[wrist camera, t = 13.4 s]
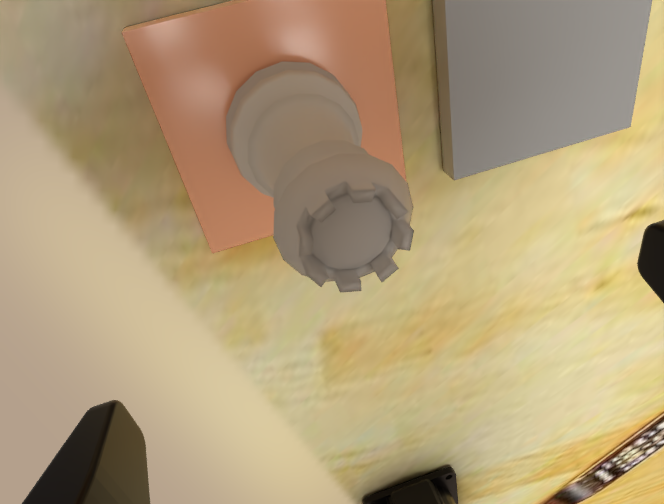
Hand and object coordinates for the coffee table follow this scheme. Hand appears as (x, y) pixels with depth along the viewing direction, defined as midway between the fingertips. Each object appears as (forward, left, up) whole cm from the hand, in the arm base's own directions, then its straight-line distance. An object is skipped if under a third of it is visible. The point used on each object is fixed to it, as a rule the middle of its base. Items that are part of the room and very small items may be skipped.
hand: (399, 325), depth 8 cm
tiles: (0, -5, -12) cm, 13 cm away
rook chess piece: (0, 0, -11) cm, 11 cm away
